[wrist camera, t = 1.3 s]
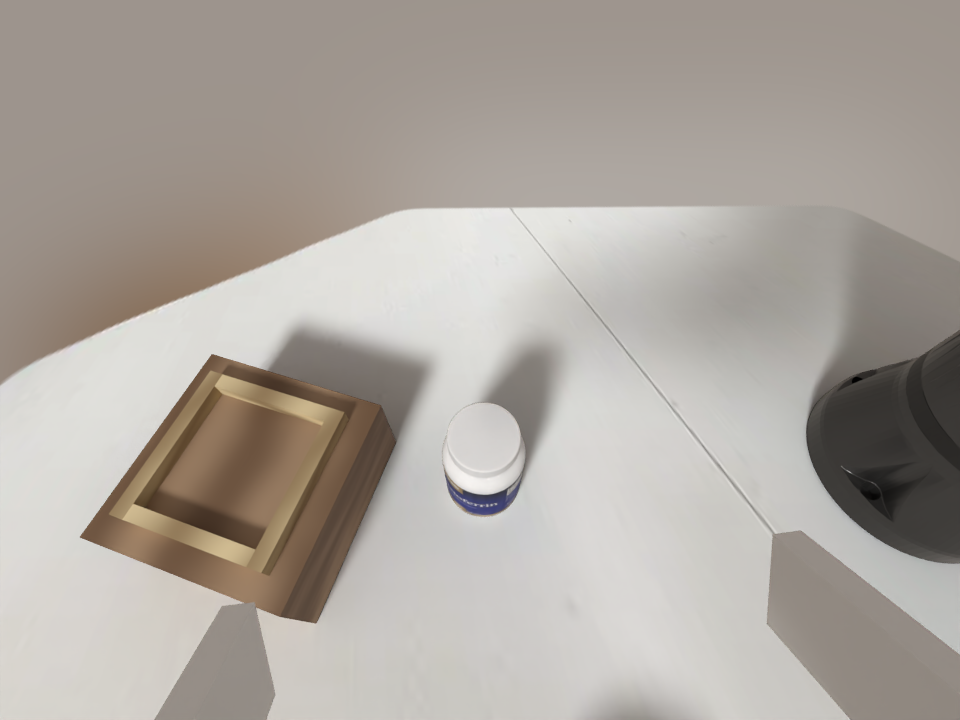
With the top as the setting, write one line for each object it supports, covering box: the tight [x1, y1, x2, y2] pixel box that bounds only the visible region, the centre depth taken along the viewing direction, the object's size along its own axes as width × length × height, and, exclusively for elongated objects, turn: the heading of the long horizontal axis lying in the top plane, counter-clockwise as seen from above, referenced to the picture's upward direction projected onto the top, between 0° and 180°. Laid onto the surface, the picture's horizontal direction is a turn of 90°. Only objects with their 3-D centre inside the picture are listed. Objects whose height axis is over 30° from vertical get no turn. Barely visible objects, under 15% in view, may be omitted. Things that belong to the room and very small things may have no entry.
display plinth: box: [80, 354, 396, 623], centre depth 35 cm, size 14×14×8 cm
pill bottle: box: [442, 402, 526, 517], centre depth 34 cm, size 6×6×10 cm
